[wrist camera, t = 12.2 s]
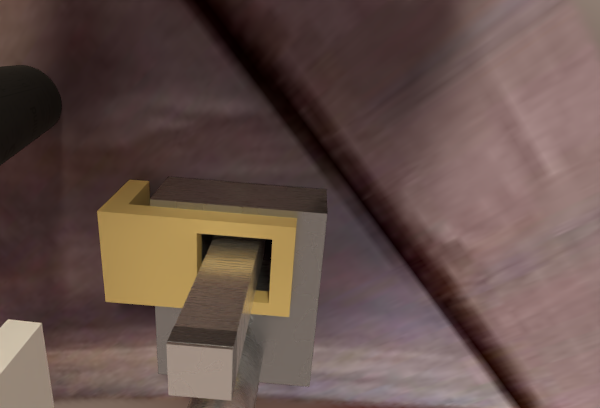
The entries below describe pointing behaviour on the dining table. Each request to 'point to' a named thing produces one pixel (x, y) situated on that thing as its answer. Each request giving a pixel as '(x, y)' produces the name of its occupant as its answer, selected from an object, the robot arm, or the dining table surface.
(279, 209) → the gray post on base
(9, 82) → the drinking cup
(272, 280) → the bracket
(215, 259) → the pin
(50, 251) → the dining table surface
